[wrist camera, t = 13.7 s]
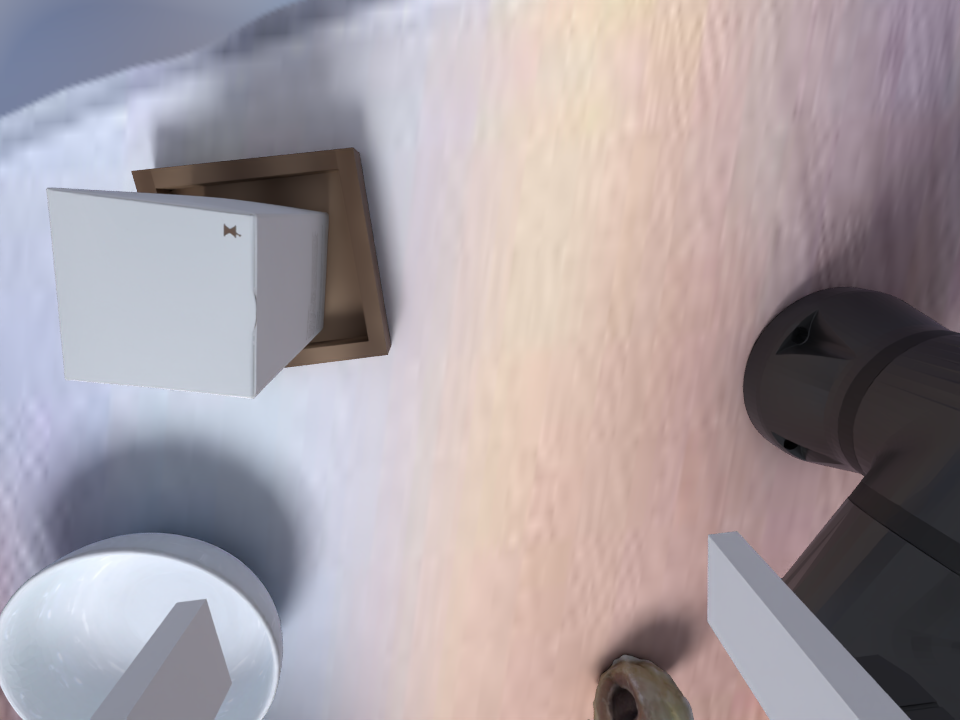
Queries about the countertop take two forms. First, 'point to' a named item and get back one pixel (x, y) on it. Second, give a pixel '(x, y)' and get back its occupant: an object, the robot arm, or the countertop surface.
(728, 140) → the countertop surface
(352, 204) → the brown wooden tray
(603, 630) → the countertop surface
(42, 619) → the serving bowl
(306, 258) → the supplement box
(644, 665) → the greenish lumpy pot
